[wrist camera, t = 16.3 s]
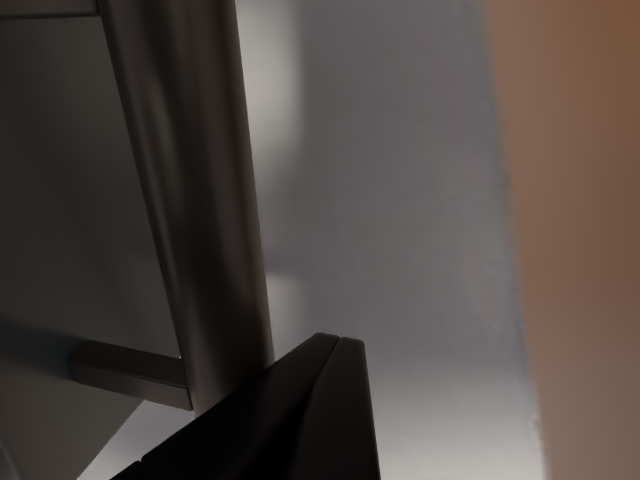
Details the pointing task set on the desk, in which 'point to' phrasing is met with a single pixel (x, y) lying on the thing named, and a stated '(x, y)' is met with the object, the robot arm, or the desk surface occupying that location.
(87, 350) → the drawer
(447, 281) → the desk surface
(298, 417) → the robot arm
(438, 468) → the desk surface
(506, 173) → the desk surface
